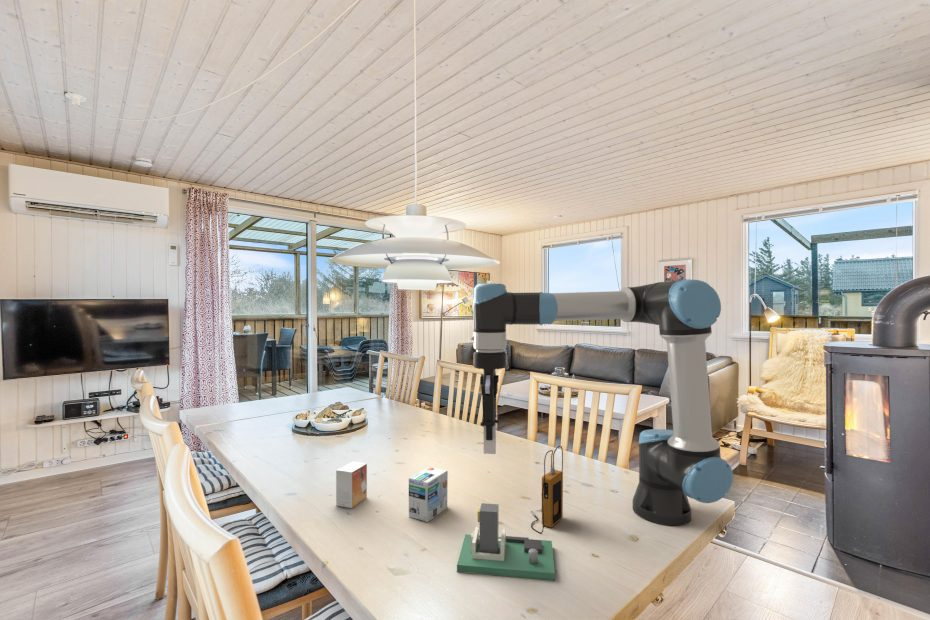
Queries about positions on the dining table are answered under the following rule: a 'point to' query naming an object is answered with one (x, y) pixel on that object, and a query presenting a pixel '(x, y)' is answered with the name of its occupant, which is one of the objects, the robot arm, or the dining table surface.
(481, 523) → the plug
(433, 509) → the light bulb box
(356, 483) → the small box
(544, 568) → the board
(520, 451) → the dining table surface
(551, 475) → the multimeter
